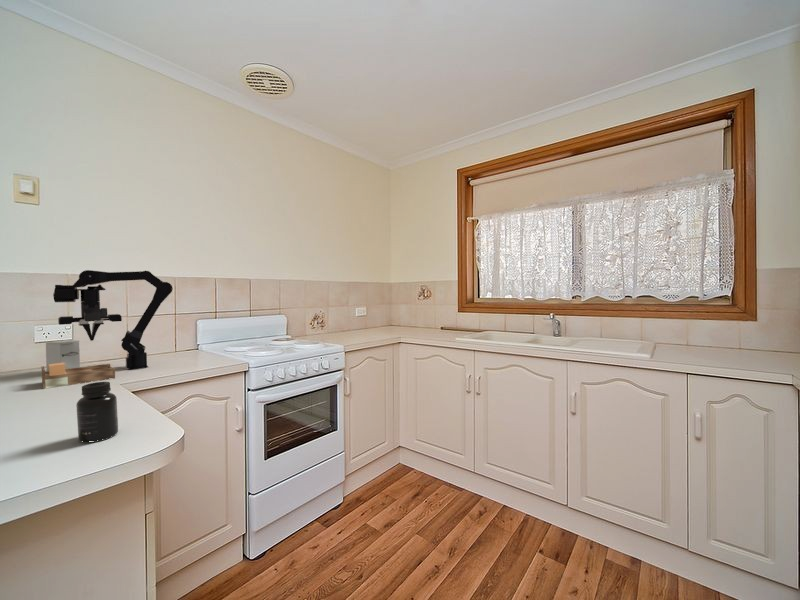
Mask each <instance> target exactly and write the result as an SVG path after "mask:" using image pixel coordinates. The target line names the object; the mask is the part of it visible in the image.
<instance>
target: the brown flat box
mask: <svg viewBox="0 0 800 600" xmlns="http://www.w3.org/2000/svg"><path fill="white" fill-rule="evenodd" d="M109 378H113V379H116V369H115V366H114V367H112V366H111V363H104V364H97V365H96V364H95V365H88V366H80V367H79V368H71V369H65V374H61V375H53V376H49V371H47V370H46V371H45V366H41V384H42V389H43V390H44V389H45V388H46V389H51V388H52V387H53V388H59V386H60V387H63V386H65V385H66V386H72V384H73V385H78V383H80V384H85V382H86V383H92V382H91V381H93V382H98V381H97V380H100V381H105V380H104V379H106V380H110V379H109ZM66 386H65V387H66Z"/></svg>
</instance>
